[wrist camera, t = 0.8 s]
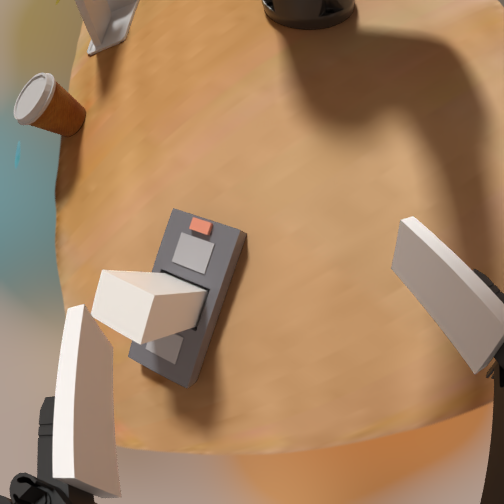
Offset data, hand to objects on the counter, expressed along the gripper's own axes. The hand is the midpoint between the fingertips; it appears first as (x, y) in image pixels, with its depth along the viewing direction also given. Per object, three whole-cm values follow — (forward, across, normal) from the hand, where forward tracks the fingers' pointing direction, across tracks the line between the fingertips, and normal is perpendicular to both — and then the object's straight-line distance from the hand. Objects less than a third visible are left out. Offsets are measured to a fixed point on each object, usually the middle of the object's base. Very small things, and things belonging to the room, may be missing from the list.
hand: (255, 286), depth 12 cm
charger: (+20, -6, -18) cm, 28 cm away
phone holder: (+65, -10, +20) cm, 69 cm away
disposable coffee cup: (+51, -20, +1) cm, 55 cm away
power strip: (+21, -5, -20) cm, 29 cm away
